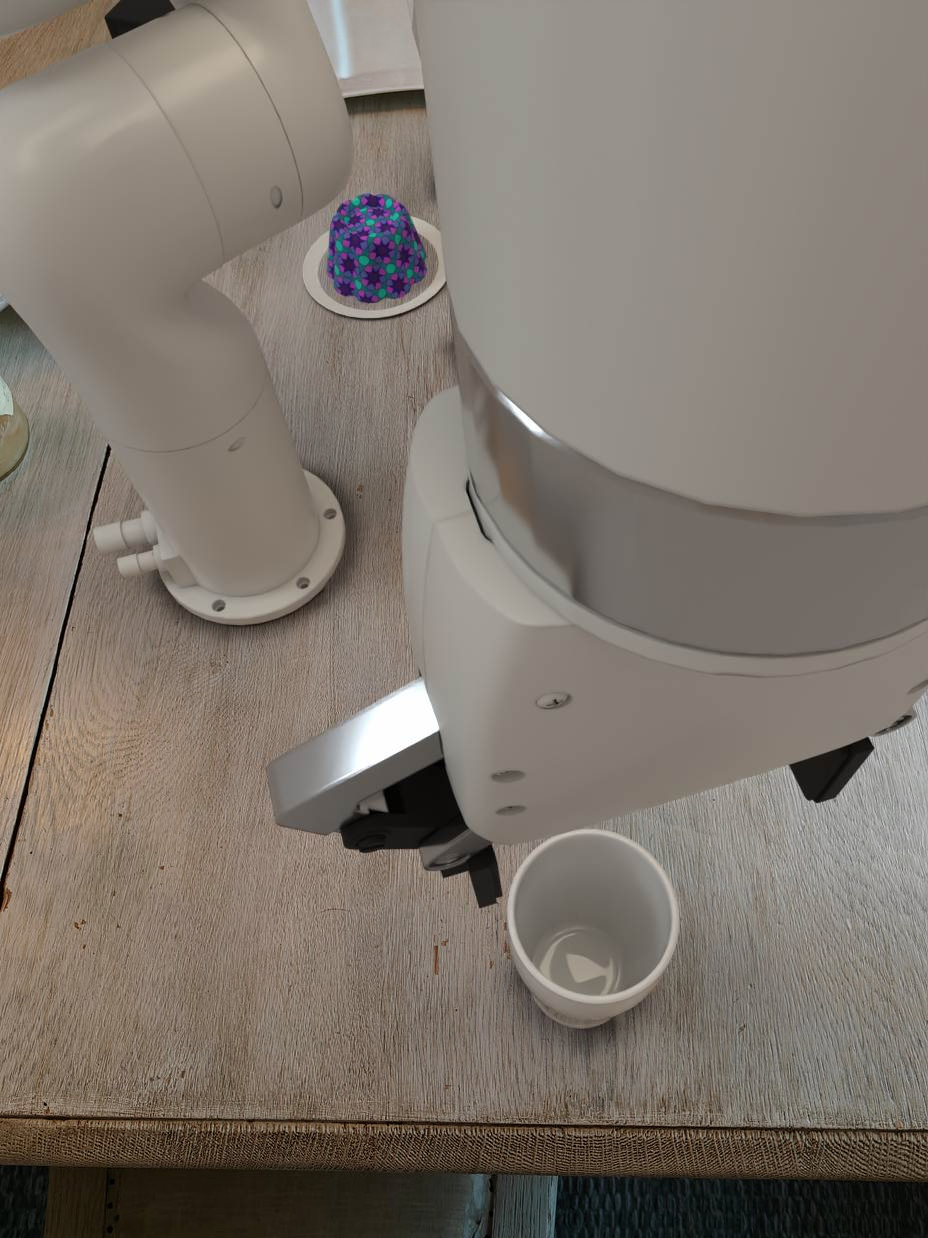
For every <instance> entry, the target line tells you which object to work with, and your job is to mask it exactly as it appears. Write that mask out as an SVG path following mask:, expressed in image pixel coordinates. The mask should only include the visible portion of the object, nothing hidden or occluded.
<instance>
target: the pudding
mask: <svg viewBox="0 0 928 1238" xmlns="http://www.w3.org/2000/svg"><path fill="white" fill-rule="evenodd" d="M420 236H422V237H424V239H426V240H427V241H428V242H429V244H431V246H432V247H433V248H434V250H435V252H436V255H437V261H438V266H437V271H436V274H435V276H434V278H433V280H432V282H431V283H430V285H429V286H427V288H426V289H425V290H424V291H422V293H420V294H418V295H417V296H416V297H415V298H412V299H410V300H409V301H407V302H405V303H402V304H399V305H397V306H393V307H390V308H383V309H382V308H381V309H367V310H366V309H359V308H353V307H350V306H346V305H344V304H341V303H339V302H338V301H336V300H335V299H333V298H331V297H330V296H329V295H328V294H327V293H326V292H325V290H324V289H323V286H321V285H322V284H321V283H320V280H319V267H320V263H321V261H322V258H323V257H324V256H325V254H326V252H327V263H326V264H327V265H326V273H327V276H328V278H330V279H331V280H333V288H334V290H335V292H336V293H337V294H339V295H341V296H343V297H355V298H356V300H357V301H358V302H360V303H365V304H376V303H379V302H381V301H382V300H384V299H391V300H396V299H399V298H403V297H404V296H406V295H407V294H409V293H410V292H411V290H412V287H413V285H415V284H417V283H421V282H422V281H423V280H424V279H425V277H426V276H427V273H428V267H427V264H426V263H425V260H426V259H427V258H428V255H427V251H426V249H425V246H424V244H423V242H422V239H421V237H420ZM301 269H302V280H303V283H304V287H305V288H306V290H307V292H308V293H309V295H310V296H311V297H312V299H314V301H316V302H317V303H318V304H320V306H322V307H324V308H326V309H327V310H329V311H332V312H334V313H336V314H339V315H343V316H346V317H350V318H351V317H352V318H360V319H378V318H386V317H392V316H395V315H396V316H397V315H399V314H402V313H405V312H408V311H410V310H413V309H415V308H417V307H419V306H420V305H422V304H425V303H426V302H427V301H428V300H430V299H431V298H432V297H433V296H435V295H436V294H437V293H438V292H439V291H440V290H441V289H442V288H443V286H444V285H445V283H447V282H446V278H445V269H444V260H443V252H442V243H441V230H440V229H438V228H436V227H435V226H434V225H433V224H431V223H429V222H427V221H426V220H423V219H420V218H418V217H416V216H411V215H410V212H409V210H408V209H407V208H406V207H405V206H404V205H403V204H402V203H401V202H398V201H396V199H395V198H394V197H393V196H391V195H389V194H385V193H379V194H375V195H374V194H372V193H361V194H359V195H357V196H356V197H355V198H354V199H347V200H346V201H344V202H342V203H341V204H339V206H338V207H337V209H336V213H335V214H334V215H333V216H332V219H331V221H330V224H329V229H328V230H327V231H325V232H324V233H322V234H321V235H320V236H319V237H318V238H317V239H316V240H315V241H314V242H313V244H312V245H311V246H310V248H309V249H308V251H307V253H306V255H305V257H304V260H303V265H302V268H301Z"/></svg>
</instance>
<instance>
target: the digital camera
mask: <svg viewBox="0 0 928 1238" xmlns="http://www.w3.org/2000/svg"><path fill="white" fill-rule="evenodd" d="M174 10H176V9H175V7H174V6H173V5H172V3H171V2H170V0H119V1H118V2H117V3H115V5H114V6H113V7H112V8H111V9H110V10H109V11H108V12H107V13H106V14H105V15H104V21H105V24H106V27H107V29H108V32H109V35H110V38H111V40H112V39H114V38H116V37H118V36H120V35H123V34H125V33H127V32H129V31H131V30H133V29H135V28H138V27H140V26H142V25H144V24H146V23H148V22H150V21H152V20H154V19H156V18H159V17H161V16H163V15H165V14H167V13H169V12H172V11H174Z"/></svg>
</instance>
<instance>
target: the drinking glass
mask: <svg viewBox="0 0 928 1238" xmlns="http://www.w3.org/2000/svg"><path fill="white" fill-rule="evenodd" d="M675 891H676V890H675V888H674V886H673V884H672V881H671V879H670V877H669V875H668V874H667V872H666V871H665V869H664V867H663V866H662V865H661V864H660V862H659V861H658V860H657V858H655V856H654V855H653V854H652V853H650V851H648V849H646V848H645V847H644V846H642V845H641V844H640V843H638V842H636V841H635V840H633V839H631V838H629V837H627V836H625V835H623V834H621V833H618V832H615V831H611V830H607V829H601V828H580V829H577V830H573V831H570V832H566V833H563V834H559V835H555V836H552V837H549V838H547V839H546V840H544V841H543V842H542V843H540V844H539V845H537V846H536V847H535V848H534V849H533V850H532V851H531V852H530V853H529V854H528V855H526V857H525V859H524V860H523V861H522V862H521V864H520V866H519V867H518V869H517V871H516V873H515V874H514V876H513V879H512V881H511V884H510V887H509V891H508V897H507V905H506V916H505V917H506V918H505V920H506V921H505V923H506V927H505V928H506V936H507V943H508V948H509V952H510V956H511V959H512V961H513V964H514V966H515V967H514V968H515V969H516V971H517V973H518V975H519V977H520V978H521V980H522V982H523V983H524V985H525V986H526V988H527V989H528V990H529V991H530V994H531V996H532V998H533V1000H534V1001H535V1003H536V1005H537V1007H539V1009H540V1010H541V1011H542V1012H543V1013H544V1014H545V1015H546V1016H547V1017H548V1018H549V1019H551V1020H553V1021H555V1022H556V1023H558V1024H559V1025H562V1026H565V1027H568V1028H573V1029H591V1028H594V1027H599V1026H601V1025H603V1024H605V1023H606V1022H608V1021H610V1020H611V1019H613V1018H614V1017H617V1016H619V1015H622V1014H624V1013H625V1012H628V1011H629V1010H631V1009H632V1008H634V1007H636V1006H637V1005H638V1004H640V1003H641V1002H642V1001H643V1000H644V999H645V998H647V997H648V996H649V995H650V994H651V992H653V990H654V989H655V988H656V987H657V985H658V984H659V982H660V981H661V979H662V978H663V977H664V975H665V973H666V971H667V970H668V967H669V965H670V963H671V960H672V958H673V956H674V953H675V951H676V947H677V944H678V940H679V935H680V926H681V925H680V924H681V923H680V919H681V917H680V907H679V901H678V898H677V895H676V892H675Z"/></svg>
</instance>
